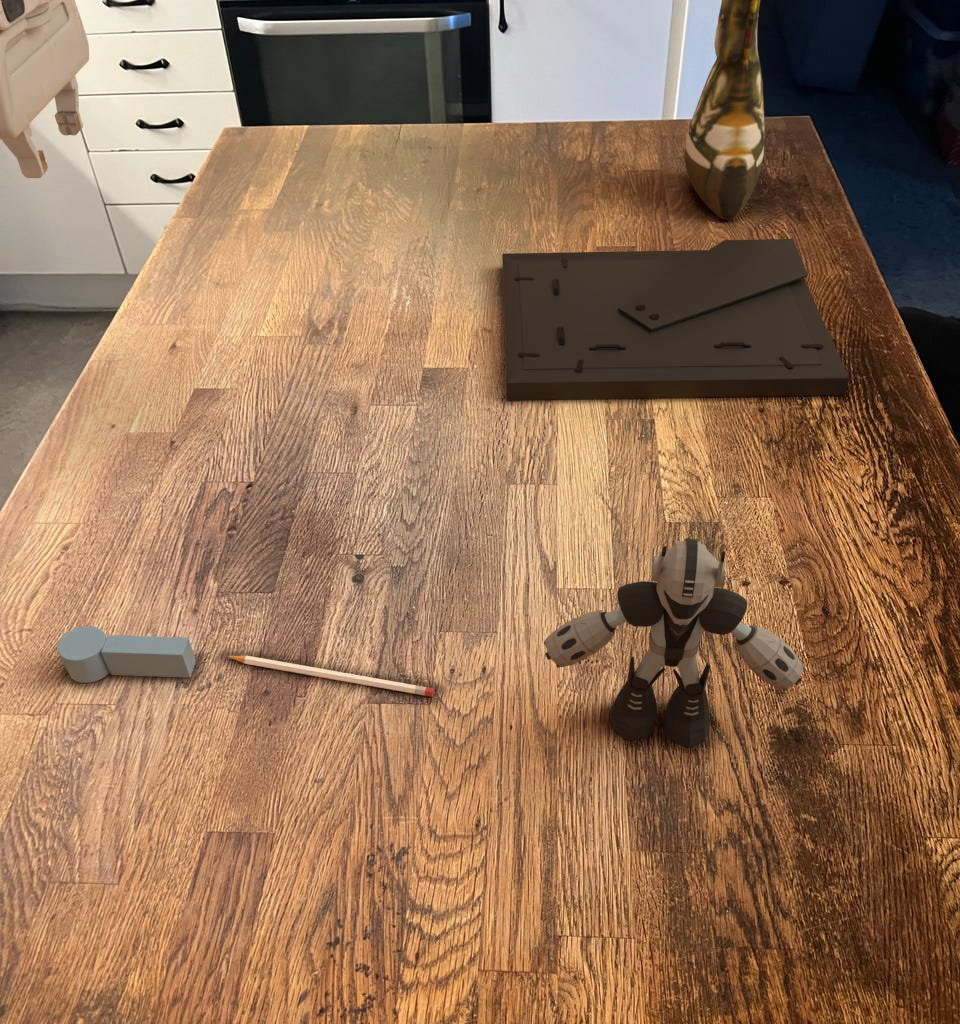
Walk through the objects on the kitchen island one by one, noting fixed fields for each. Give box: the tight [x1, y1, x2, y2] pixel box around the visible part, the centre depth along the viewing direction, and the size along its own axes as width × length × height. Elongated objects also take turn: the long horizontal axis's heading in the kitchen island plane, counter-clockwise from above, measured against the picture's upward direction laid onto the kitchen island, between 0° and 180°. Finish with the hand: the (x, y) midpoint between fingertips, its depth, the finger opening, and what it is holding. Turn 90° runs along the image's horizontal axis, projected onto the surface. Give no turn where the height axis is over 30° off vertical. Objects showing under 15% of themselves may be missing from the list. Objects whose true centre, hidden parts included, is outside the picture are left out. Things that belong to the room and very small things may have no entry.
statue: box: [684, 0, 766, 221], centre depth 135 cm, size 16×11×35 cm, turn 3°
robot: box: [543, 537, 804, 749], centre depth 74 cm, size 20×5×20 cm, turn 81°
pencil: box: [227, 655, 435, 698], centre depth 85 cm, size 1×19×1 cm, turn 77°
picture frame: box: [501, 238, 850, 401], centre depth 122 cm, size 31×4×38 cm
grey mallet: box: [56, 625, 197, 684], centre depth 85 cm, size 11×4×3 cm, turn 87°
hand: (55, 153), depth 90 cm, fingers open, 8 cm apart
